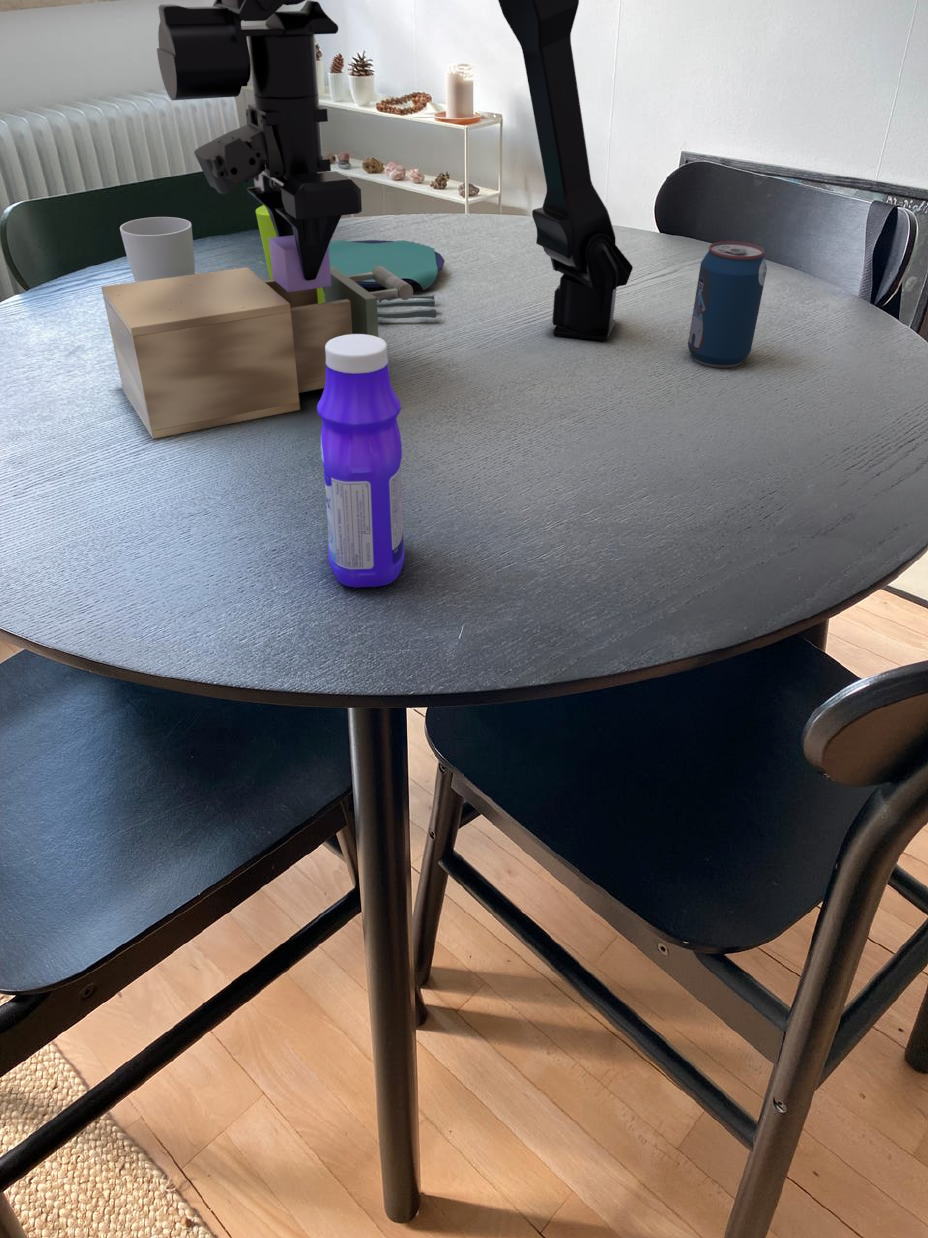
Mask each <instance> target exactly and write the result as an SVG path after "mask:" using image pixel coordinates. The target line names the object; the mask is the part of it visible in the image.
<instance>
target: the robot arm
mask: <svg viewBox="0 0 928 1238" xmlns="http://www.w3.org/2000/svg"><path fill="white" fill-rule="evenodd" d="M497 1H498V5H499V7H500V10H501V12H502V15H503V18H504V19H505V21H506V22H507V24H508V26H509V28H510V29H511V31H512V33H513V34H514V36H515V38H516V39H517V41H518V43H519V45H520V49H521V52H522V57H523V61H524V68H525V73H526V78H527V84H528V91H529V95H530V101H531V107H532V113H533V118H534V123H535V129H536V135H537V140H538V141H537V142H538V146H539V152H540V157H541V163H542V168H543V174H544V179H545V180H544V181H545V185H546V193H545V197H544V200H543V204H542V206H541V207H537V208H534V209H532V211H531V214H532V215H531V216H532V218H533V222H534V225H535V228H536V241H535V243H536V245H537V246H540V247H542V249H543V251H544V253H545V254H546V255H547V256H548V257H549V258H550V261H551V265H552V269H553V271H555V272H559V273H560V274H562V275H561V276H560V278H559V284H558V286H557V287H556V288H555V290H554V295H553V307H552V308H553V309H552V325H553V326H555V327H554V328H553V329H552V335H553V336H560V337H570V338H575V339H577V338H578V339H586V340H594V341H595V340H596V341H602V342H605V341H608V339H609V338H610V336H611V334H612V331H613V330H614V328H615V326H616V319H615V318H614V317H615V316H614V315H615V307H616V297H617V288H618V287H622V286H627V284H628V282H629V279H630V277H631V273H632V271H633V264H631V262H630V261H629V260H628V259H627V257H626V256H625V254H623V252H622V251H621V249H620V248H619V247H618V246H617V244H616V243H617V242H616V235H615V234H616V233H615V229H614V227H613V224H612V220H611V217H610V214H609V211H608V209H607V207H606V205H605V204H604V201H603V200H602V199H601V196H600V195H599V193H598V191H597V190H596V189H595V187H594V185H593V181H592V178H591V177H592V176H591V169H590V163H589V155H588V149H587V143H586V135H585V129H584V123H583V122H584V121H583V116H582V108H581V102H580V95H579V94H580V93H579V87H578V82H577V74H576V67H575V61H574V54H573V46H572V39H571V38H572V31H573V26H574V23H575V19H576V16H577V12H578V9H579V4H580V0H497ZM304 2H305V3H304ZM301 3H304V5H303V6H302V7H301V9H299V10H288V11H287V10H285V11H284V10H283V11H278V10H279V9H280V8H281V7H283V6H294V5H299V4H301ZM157 8H158V15H159V23H158V24H159V25H158V32H157V38H158V47H157V48H156V54H157V60H158V61H157V62H158V67H159V71H160V75H161V79H162V83H163V85H164V89H165V91H166V93H167V96H168V97H169V99H170V100H171V101H185V100H204V99H205V100H206V99H220V98H221V99H222V98H237V97H239V95H240V94H241V91H242V87H248V85H249V84H248V83H249V82H250V80H252V91H253V101H254V102H253V103H251V104H247V107H248V108H246V109H245V119H246V124H245V125H243V126H240V127H238V128H237V129H233V130H231V131H229V132H226V133H225V134H222V135H220V136H218V137H216V138H215V139H213V140H211V141H209V142H207V143H204V144H203V145H201V146H199V147H197V148H196V149H195V150H194V152H193V154H194V156H195V158H196V160H197V162H198V164H199V166H200V168H201V170H202V172H203V174H204V176H205V179H206V180H207V182H208V184H209V187H210V188H212V189H215V190H216V191H217V193H218V194H220V195H225V194H229V193H231V192H234V191H236V190H237V189H238V186H240V185H241V184H244V183H248V182H249V181H250V180H251V179H253V184H254V185H253V186H249V187H247V188H246V190H247V192H248V193H249V194H250V195H251V196H253V198H255V199H256V200H257V201H258V202H259V203H261V204H262V206H263V205H264V206H265V207H266V208H267V210H268V213H269V215H270V218H271V221H272V224H273V226H274V229H275V232H276V235H277V237H283V236H292V235H294V238H295V243H296V247H297V252H298V256H299V261H300V265H301V269H302V273H303V277H304V279H305V280H307V281H309V280H315V279H316V277H317V274H318V272H319V269H320V267H321V264H322V261H323V259H324V256H325V253H326V251H327V248H328V246H329V243H330V242H332V238H333V236H334V234H335V231H336V229H337V227H338V225H339V222H340V221H341V218H342V216H350V215H358V214H360V213H362V212H363V207H362V204H363V203H362V189H361V188H360V187H359V185H357V184H356V183H355V181H353V180H352V179H351V178H350V177H347V176H346V175H344V174H342V173H340V172H338V171H332V169H331V168H332V165H331V159H330V158H329V157H327V156H325V155H323V139H322V126H321V123H325V122H328V121H329V117H328V108H326V107H324V106H321V105H320V95H319V94H320V93H319V80H318V79H319V78H318V66H317V65H318V64H317V51H316V36H315V35H334V34H337V33H338V32H339V25H338V24H337V23H336V22H334V21H333V20H332V18H331V17H330V16H328V14H327V13H326V12H325V11H324V9H323V8H322V5H321V4H320V2H318V1H316V0H214V2H213V4H212V6H181V5H178V4H172V3H171V4H167V3H166V4H160V5H159V6H158V7H157ZM242 22H265V24H257V25H242Z"/></svg>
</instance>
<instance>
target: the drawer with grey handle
mask: <svg viewBox="0 0 928 1238" xmlns="http://www.w3.org/2000/svg"><path fill="white" fill-rule="evenodd" d="M330 274H331V286H329V287H323V291H324V296H325V303H319V304H318V296H317V288H315V289H308V290H301V291H294V292H287V291H286V290H285V289H284V288H283V287H281V286H280V285H279V284H278V283H277V282H275V281H274V280H273V279H270V278H269V279H262V280H263V281H264V282H265V283H266V284H267V285H269V286H270V287H271V288H272V289H273V290H274V291H276V292H277V293H278V294H279V295H280V296H281V297H283V298H284V299H285V300H286V301H287V302H288V303H290V309H291V319H292V330H293V340H294V351H295V362H296V372H297V383H298V393H305V392H310V391H316V390H321V389H324V388H325V381H326V352H325V345H326V343H327V342H328V341H329V340H331V339H333V338H335V337H339V336H343V335H349V334H366V335H372V336H376V337H379V319H378V318H379V317H378V315H377V312H378V307H377V303H378V300H377V299H379V298H386V297H392V296H398V297H400V298H399V299H401V300H402V301H409V300H410V299H412V298H411V296H413V295H414V289H413V286H412V285H411V284H410V283H406V282H405V281H403V280H402V279H400V278H399V277H397V276H395V275H394V274H392V273H391V272H389V271H388V270H386V269H385V268H383V267H382V266H376V267H374V268H373V270H372V272H369V273H362V274H355V275H348V276H346V275H344V274H343V273H341V272H340V271H339V270H337V269H336V268H334V267H333V266H332V267H330ZM371 279H374V280H375V281H376V282H378V283H379V284H381V285H382V286H384V287H383V288H385V289H383V290H382V289H381V290H376V291H368V290H367V289H365V287H361V286H360V285H358V284H357V283H355V282H358V281H364V280H371Z"/></svg>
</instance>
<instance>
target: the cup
mask: <svg viewBox="0 0 928 1238" xmlns="http://www.w3.org/2000/svg"><path fill="white" fill-rule="evenodd" d="M192 227H193V225H192V222H191V221H190V220H187V219H184V218H180V217H174V216H172V217H171V216H153V217H152V216H151V217H144V218H138V219H132V220H129V221H127V222H124V223H123V224H121V225H120V227H119V230H120V236H121V239H122V242H123V247H124V251H125V254H126V259H127V262H128V266H129V268H130V271H131V274H132V276H133V279H134V282H140V281H148V280H155V279H163V278H170V277H178V276H185V275H193V274H196V272H195V271H196V259H195V247H194V239H193V238H194V237H193V228H192Z"/></svg>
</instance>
